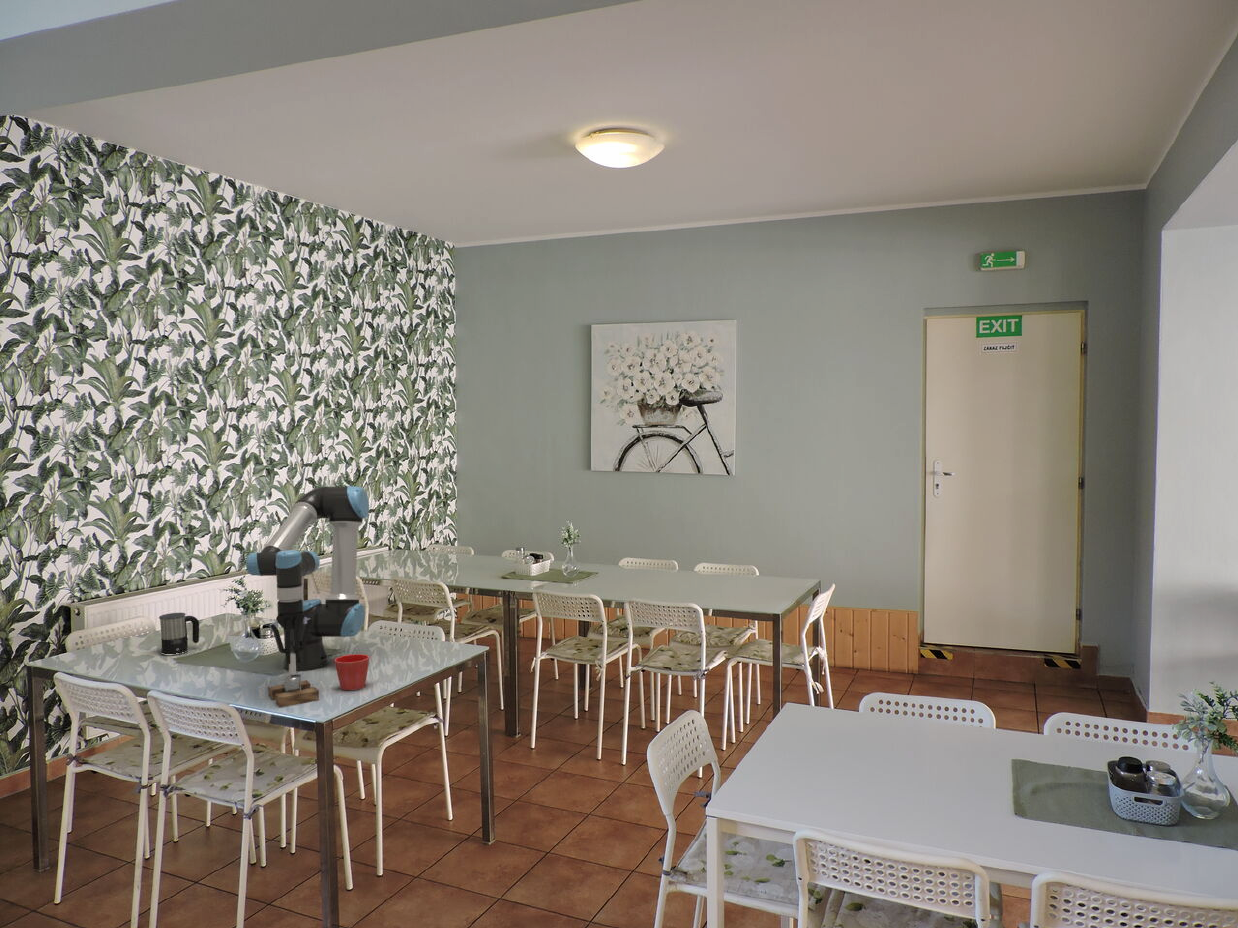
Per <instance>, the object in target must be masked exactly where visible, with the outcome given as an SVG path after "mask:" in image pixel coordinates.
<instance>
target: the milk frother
mask: <svg viewBox="0 0 1238 928" xmlns="http://www.w3.org/2000/svg"><path fill="white" fill-rule="evenodd" d="M158 619H159V620H160V621H159V622H160V623H159V624H160V636H161V637H160V638H161V653H164V654H176V653H182V652H185V651H187V650H188V645H189V644H188V641H189V638H188V630H187V622H191V623H192V643H194V644H198V643H199V641H200V621H199V620H198V618H197V617H196V616H193V615H186V613H185V612H172V613H171V612H170V613H166V614H165V613H164V614H161V615H159V617H158ZM187 652H188V651H187Z"/></svg>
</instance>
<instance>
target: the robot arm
mask: <svg viewBox="0 0 1238 928" xmlns="http://www.w3.org/2000/svg"><path fill="white" fill-rule="evenodd" d="M369 513H370V501H369V497H368V495H367V492H366V490H364V488H362V487H360V486H352V485H351V486H350V485H345V486H344V485H343V486H320V487H317V488H314V489H312V490H308V492H306V493H305V494H303V495H302V496H301V497H299V498H298V499H297V501H295V503H294V504H293V505H292V506H291V509H290V514H288V516H287V517H286V519H285V520H284V521H283V523H282V524H281V525H280V527H279V528H278V529H277V530H276V532H275V533H274V534H273V535H272V537H271V538H270V539H269V541H268V542H267V544H266V545H264V547H263V548H262V550H260V551H261V552H258V551H257V552H251V553H249V555H248V556H247V557H246V561H245V568H246V571H247V573H248V575H251V576H260V577H266V576H267V577H270V576H273V577H274V576H275V577H276V599H277V600H278V601H277V605H276V606H277V607H276V608H277V616H276V618H275V621H273V622H271V623H269V624H268V627H269V628H270V629H271V631H272V633H273V635H274V639H275V642H276V646H277V650H278V652H280V653H281V654H284V660H283V668H284V669H286V670H288V673H289V675H297V671H309V670H315V669H319V668H322V667H325V666H327V665H328V664H329V655H328V652H327V650H326V647H325V644H324V642H323V641H324V640H323V637H325V638H326V637H327V638H328V637H329V638H331V637H332V638H348V637H355V636H357V635H358V634H359V633H360V632H361V630H362V628H363V625H364V622H365V618H366V617H365V616H366V610H365V606H364V605H363V604H362V603H360V598H359V597H358V596H357V595H356V584H357V583H356V582H357V580H356V579H357V561H358V560H357V558H358V556H357V553H358V535H359V534H358V533H359V532H358V531H359V528H360V527H361V525H362V524H363V521H364V519H366V518H367V517H368V516H369ZM321 519H329V520H328V523H329V525H331V526H332V528H333V529H332V547H331V548H332V552H331V571H330V572H331V573H330V594H329V595H328V596H327V597H326V598H325V602H324V603H322V599H319V598H312V599H307V600H306V599H305V600H303V599H302V598H303V579H302V578H303V577H306V576H309V575H311V574H313V573H315V572H316V571H317V570H318V569H319V567H320V563H321V562H320V557H319V556H318V554H317V553H316V552H315V551H313V550H303V551H301V552H300V550H297V549H293V548H294V547H295V545H296V544H297V542H298V541H299V540H300V538H301V537H302V535H303V534H304V533H305V531H306V530H307V529H308V527H309V526H311V525H313V524H315V522H317V520H321ZM279 625H280V626H281V628H282V629H283V639H284V640H283V641H282V637H281V634H280V632H279V629H278V628H279ZM283 642H284V644H283Z"/></svg>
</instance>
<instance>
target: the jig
mask: <svg viewBox="0 0 1238 928" xmlns="http://www.w3.org/2000/svg"><path fill="white" fill-rule="evenodd" d="M311 684H312V683H311V682H310V681H308V680H307V679H305V680H301V690H300V691H295V692H289V693H285V689H284V683H283V684H278V685H277V684H276V685H272V686H271V685H270V686H268V687H267V691H268V697H269V699H270V700H272V701H274V700H275V704H276V705H277V707H279V708H284V707H289V706H296V705H300V704H305V703H306V704H307V703H312V702H315V701H319V700H320V691H319V689H317V687H315V686H313V687H312V685H311Z"/></svg>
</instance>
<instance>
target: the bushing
mask: <svg viewBox="0 0 1238 928" xmlns="http://www.w3.org/2000/svg"><path fill="white" fill-rule="evenodd" d="M283 680H284V681H283V682H284V683H283V684H284V689H285V693H289V692H295V691H300V690H301V681H302V676H301V674H292V675H291V674H289V675H286V676H284V677H283Z"/></svg>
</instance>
